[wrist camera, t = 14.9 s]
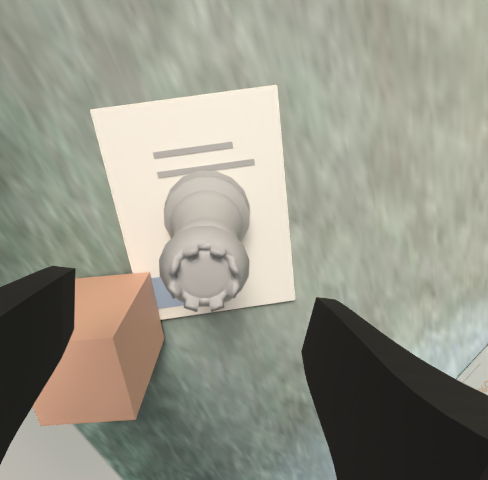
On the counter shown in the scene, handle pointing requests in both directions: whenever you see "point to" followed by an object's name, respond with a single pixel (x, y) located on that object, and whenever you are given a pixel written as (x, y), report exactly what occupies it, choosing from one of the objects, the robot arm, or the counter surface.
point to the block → (105, 353)
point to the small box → (477, 373)
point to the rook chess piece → (205, 240)
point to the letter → (204, 159)
